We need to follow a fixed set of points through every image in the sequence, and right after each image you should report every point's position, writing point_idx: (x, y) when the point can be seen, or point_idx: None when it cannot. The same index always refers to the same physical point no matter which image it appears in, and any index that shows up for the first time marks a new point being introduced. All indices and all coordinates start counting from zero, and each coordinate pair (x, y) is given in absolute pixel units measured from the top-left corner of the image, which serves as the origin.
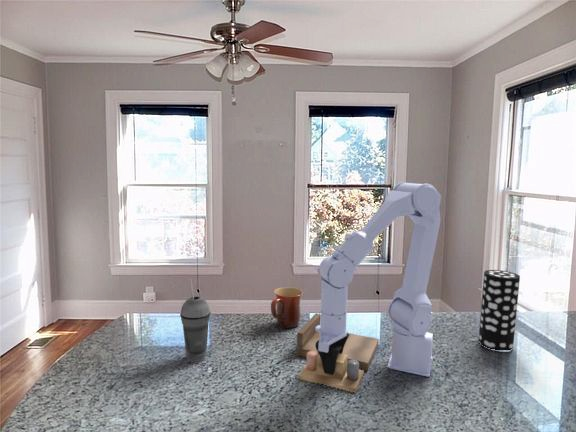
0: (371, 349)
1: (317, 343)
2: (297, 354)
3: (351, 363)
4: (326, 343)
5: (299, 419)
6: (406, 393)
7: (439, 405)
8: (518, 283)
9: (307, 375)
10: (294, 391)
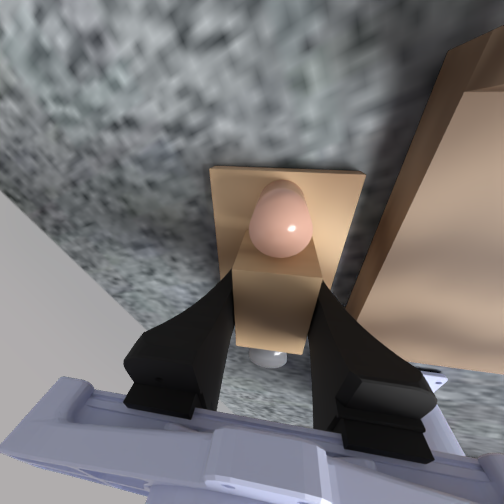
0: (440, 361)
1: (145, 363)
2: (448, 55)
3: (261, 354)
4: (35, 466)
5: (66, 230)
6: (269, 373)
7: (256, 395)
8: None
9: (222, 203)
10: (143, 178)
